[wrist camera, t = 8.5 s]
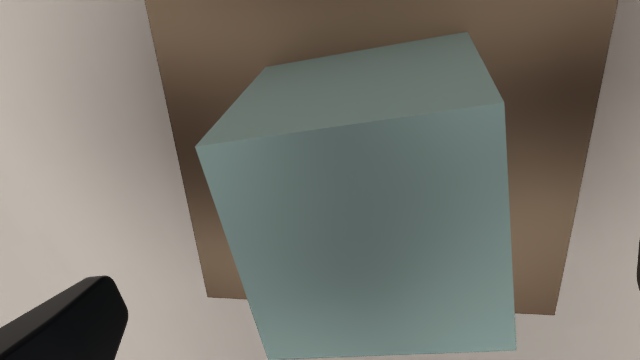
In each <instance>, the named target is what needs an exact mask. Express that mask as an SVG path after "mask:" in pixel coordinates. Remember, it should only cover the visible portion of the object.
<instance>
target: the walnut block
mask: <svg viewBox="0 0 640 360" xmlns="http://www.w3.org/2000/svg"><path fill="white" fill-rule="evenodd" d="M617 4H618V0H145V5H146V9H147V14H148V19H149V23H150V28H151V33H152V38H153V42H154V47H155V52H156V56H157V61H158V66H159V71H160V75H161V80H162V85H163V89H164V94H165V99H166V104H167V108H168V113H169V118H170V122H171V127H172V132H173V137H174V141H175V146H176V151H177V155H178V160H179V165H180V170H181V174H182V179H183V184H184V188H185V193H186V198H187V203H188V207H189V212H190V217H191V221H192V226H193V231H194V236H195V240H196V245H197V250H198V254H199V259H200V264H201V269H202V273H203V278H204V283H205V287H206V292H207V297H212V298H232V299H247V297H246V294H245V291H244V288H243V285H242V282H241V279H240V276H239V273H238V270H237V267H236V265H235V262H234V259H233V256H232V253H231V250H230V247H229V244H228V241H227V238H226V236H225V233H224V230H223V227H222V224H221V221H220V218H219V215H218V212H217V209H216V206H215V204H214V201H213V198H212V195H211V192H210V189H209V186H208V183H207V180H206V177H205V174H204V172H203V169H202V166H201V163H200V160H199V157H198V154H197V151H196V148H195V146H196V145H197V144H198V143H199V141H200V140H201V139H202V138H203V137H204V136H205V135H206V134H207V132H208V131H209V130H210V129H211V128H212V127H213V126H214V125H215V123H216V122H217V121H218V120H219V119H220V118H221V117H222V115H223V114H224V113H225V112H226V111H227V110H228V109H229V108H230V106H231V105H232V104H233V103H234V102H235V101H236V100H237V99H238V97H239V96H240V95H241V94H242V93H243V92H244V91H245V90H246V88H247V87H248V86H249V85H250V84H251V83H252V82H253V81H254V79H255V78H256V77H257V76H258V75H259V74H260V73H261V72H262V70H263V69H264V68H265V67H268V66H274V65H280V64H285V63H291V62H297V61H303V60H308V59H314V58H320V57H325V56H331V55H337V54H342V53H348V52H354V51H360V50H365V49H371V48H377V47H382V46H388V45H394V44H400V43H405V42H411V41H417V40H422V39H428V38H434V37H440V36H445V35H451V34H457V33H462V32H468V34H469V36H470V38H471V39H472V41H473V43H474V45H475V47H476V49H477V51H478V53H479V55H480V57H481V59H482V61H483V62H484V64H485V66H486V68H487V70H488V72H489V74H490V76H491V78H492V80H493V82H494V84H495V86H496V87H497V89H498V91H499V93H500V95H501V97H502V99H503V101H504V106H505V126H506V146H507V167H508V187H509V208H510V228H511V248H512V269H513V289H514V309H515V313H521V314H541V315H555V311H556V306H557V301H558V296H559V291H560V286H561V281H562V276H563V271H564V266H565V261H566V256H567V251H568V246H569V242H570V237H571V232H572V227H573V222H574V217H575V212H576V207H577V202H578V197H579V192H580V187H581V182H582V177H583V172H584V167H585V162H586V157H587V152H588V147H589V143H590V138H591V133H592V128H593V123H594V118H595V113H596V108H597V103H598V98H599V93H600V88H601V83H602V78H603V73H604V68H605V63H606V58H607V53H608V48H609V44H610V39H611V34H612V29H613V24H614V19H615V14H616V9H617Z"/></svg>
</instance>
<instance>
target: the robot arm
mask: <svg viewBox="0 0 640 360" xmlns="http://www.w3.org/2000/svg"><path fill="white" fill-rule="evenodd" d="M637 282H638V286H639V290H640V242H639V253H638V265H637ZM127 321H128V310H127V307H126V305H125V303H124V301H123V299H122V297H121V294H120V292H119V290H118V288H117V286H116V284H115V282H114V281H113V279H112V278H110V277H109V276H94V277H88V278H85V279H83V280H82V281H80V282H78V283H77V284H75V285H73V286H71V287H70V288H68V289H66V290H65V291H63V292H61V293H59V294H58V295H56V296H54V297H53V298H51V299H49V300H47V301H46V302H44V303H42V304H41V305H39V306H37V307H35V308H34V309H32V310H30V311H29V312H27V313H25V314H23V315H22V316H20V317H18V318H17V319H15V320H13V321H11V322H10V323H8V324H6V325H5V326H3V327H1V328H0V360H114V359H115V356H116V354H117V351H118V348H119V345H120V342H121V339H122V336H123V333H124V330H125V328H126V325H127Z"/></svg>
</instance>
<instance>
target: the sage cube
mask: <svg viewBox="0 0 640 360" xmlns="http://www.w3.org/2000/svg"><path fill="white" fill-rule="evenodd" d="M195 148H196V151H197V154H198V157H199V160H200V163H201V166H202V169H203V172H204V174H205V177H206V180H207V183H208V186H209V189H210V192H211V195H212V198H213V201H214V204H215V206H216V209H217V212H218V215H219V218H220V221H221V224H222V227H223V230H224V233H225V236H226V238H227V241H228V244H229V247H230V250H231V253H232V256H233V259H234V262H235V265H236V267H237V270H238V273H239V276H240V279H241V282H242V285H243V288H244V291H245V294H246V297H247V299H248V302H249V305H250V308H251V311H252V314H253V317H254V320H255V323H256V326H257V329H258V331H259V334H260V337H261V340H262V343H263V346H264V349H265V352H266V355H267V358H268V360H279V359H305V358H331V357H358V356H384V355H410V354H436V353H462V352H489V351H515V350H516V330H515V309H514V289H513V269H512V248H511V228H510V208H509V187H508V167H507V146H506V126H505V106H504V101H503V99H502V97H501V95H500V93H499V91H498V89H497V87H496V86H495V84H494V82H493V80H492V78H491V76H490V74H489V72H488V70H487V68H486V66H485V64H484V62H483V61H482V59H481V57H480V55H479V53H478V51H477V49H476V47H475V45H474V43H473V41H472V39H471V38H470V36H469V34H468V32H462V33H457V34H451V35H445V36H440V37H434V38H428V39H422V40H417V41H411V42H405V43H400V44H394V45H388V46H382V47H377V48H371V49H365V50H360V51H354V52H348V53H342V54H337V55H331V56H325V57H320V58H314V59H308V60H303V61H297V62H291V63H285V64H280V65H274V66H268V67H265V68H264V69H263V70H262V72H261V73H260V74H259V75H258V76H257V77H256V78H255V79H254V81H253V82H252V83H251V84H250V85H249V86H248V87H247V88H246V90H245V91H244V92H243V93H242V94H241V95H240V96H239V97H238V99H237V100H236V101H235V102H234V103H233V104H232V105H231V106H230V108H229V109H228V110H227V111H226V112H225V113H224V114H223V115H222V117H221V118H220V119H219V120H218V121H217V122H216V123H215V125H214V126H213V127H212V128H211V129H210V130H209V131H208V132H207V134H206V135H205V136H204V137H203V138H202V139H201V140H200V141H199V143H198V144H197V145H196V146H195Z"/></svg>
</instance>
